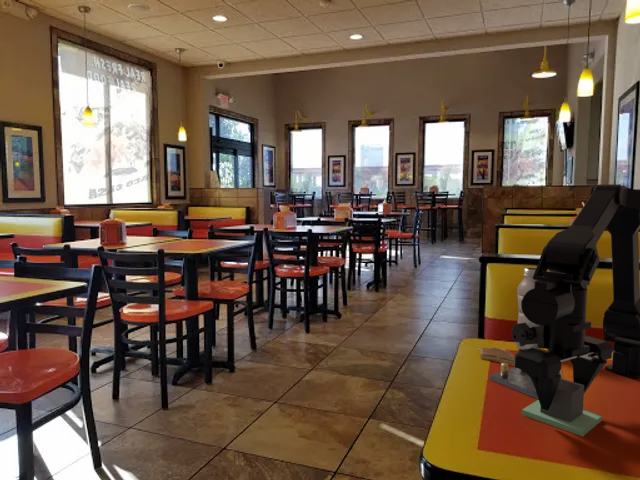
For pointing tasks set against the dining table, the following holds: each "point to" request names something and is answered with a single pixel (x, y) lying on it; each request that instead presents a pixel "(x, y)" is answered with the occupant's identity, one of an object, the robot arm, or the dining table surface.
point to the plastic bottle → (522, 289)
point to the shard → (497, 355)
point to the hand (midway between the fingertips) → (561, 403)
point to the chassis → (516, 380)
